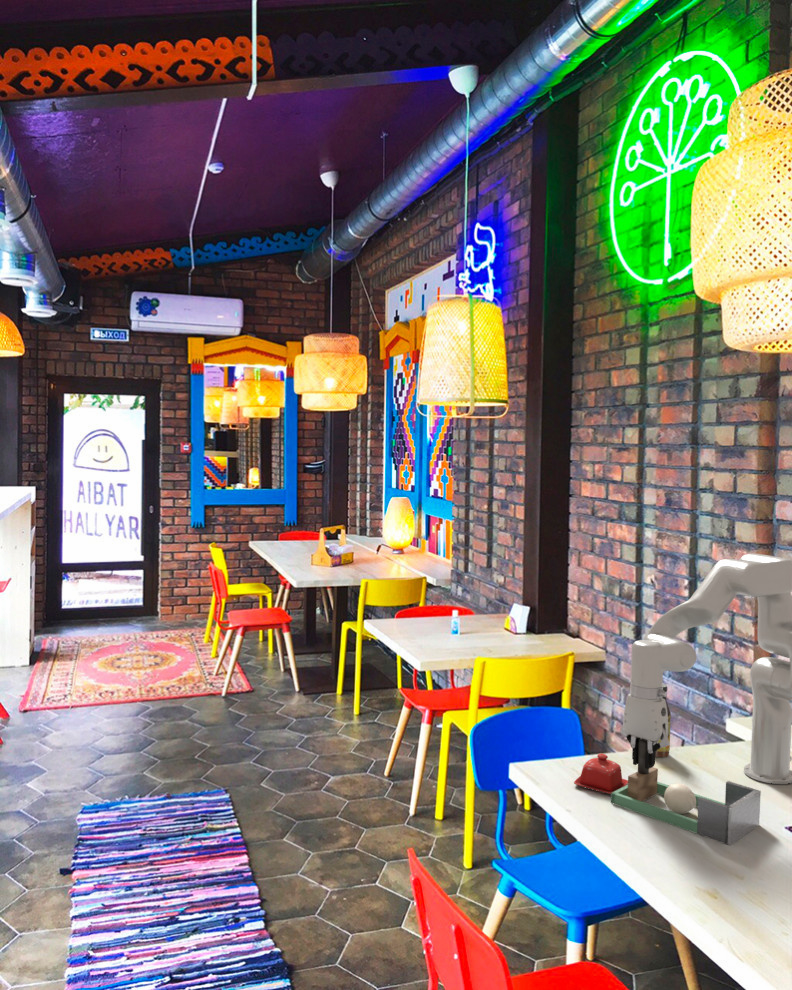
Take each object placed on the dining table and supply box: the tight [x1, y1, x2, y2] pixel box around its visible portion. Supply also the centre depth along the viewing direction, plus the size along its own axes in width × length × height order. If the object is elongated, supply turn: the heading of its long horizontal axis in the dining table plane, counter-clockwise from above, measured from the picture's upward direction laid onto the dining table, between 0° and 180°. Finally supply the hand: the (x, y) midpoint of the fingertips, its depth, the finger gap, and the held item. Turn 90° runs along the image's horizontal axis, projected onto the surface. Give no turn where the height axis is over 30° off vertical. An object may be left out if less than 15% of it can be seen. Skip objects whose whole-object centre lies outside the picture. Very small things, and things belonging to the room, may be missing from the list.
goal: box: [696, 780, 762, 846], centre depth 188 cm, size 15×8×8 cm, turn 134°
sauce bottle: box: [655, 683, 672, 758], centre depth 235 cm, size 6×6×20 cm
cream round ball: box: [663, 782, 697, 815], centre depth 197 cm, size 7×7×7 cm
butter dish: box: [573, 753, 628, 795], centre depth 212 cm, size 12×12×8 cm
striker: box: [627, 738, 659, 802], centre depth 204 cm, size 10×3×14 cm, turn 134°
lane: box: [610, 781, 725, 834], centre depth 199 cm, size 15×22×2 cm
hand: (643, 764), depth 204 cm, fingers closed on striker, 2 cm apart
